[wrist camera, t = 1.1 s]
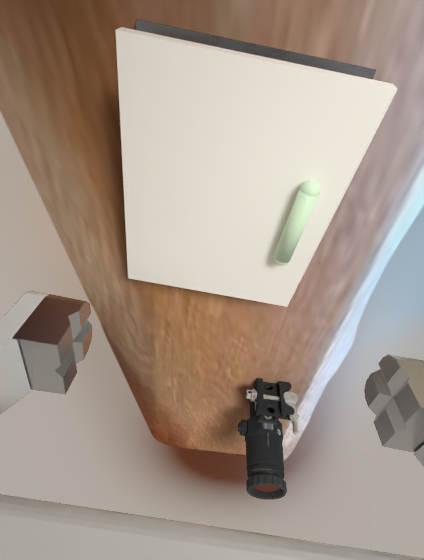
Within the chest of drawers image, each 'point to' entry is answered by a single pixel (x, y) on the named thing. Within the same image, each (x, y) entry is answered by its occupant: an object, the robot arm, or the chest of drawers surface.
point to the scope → (267, 437)
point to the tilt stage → (234, 162)
